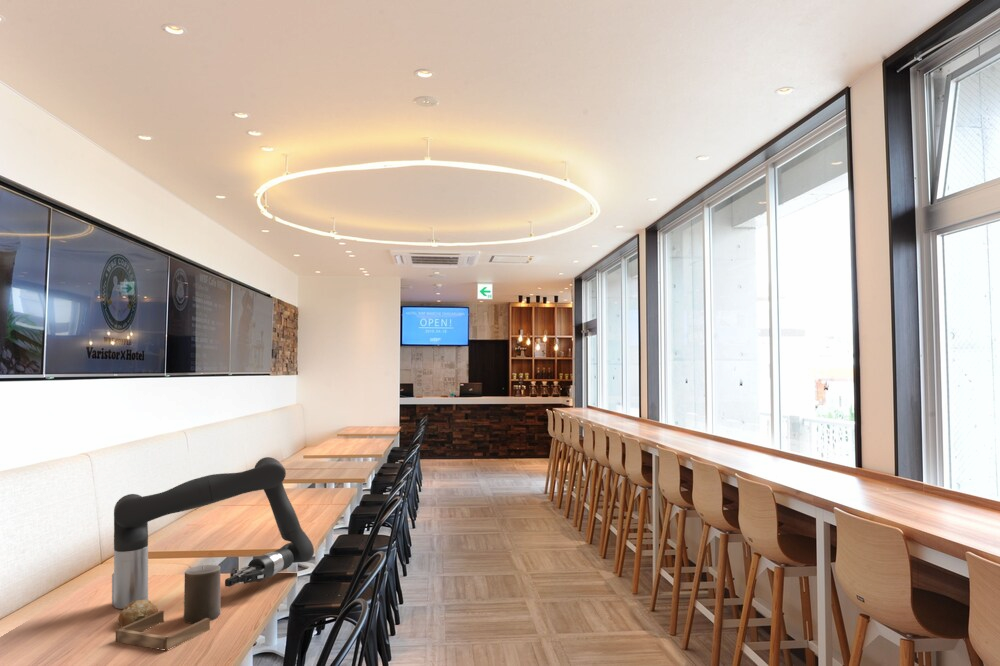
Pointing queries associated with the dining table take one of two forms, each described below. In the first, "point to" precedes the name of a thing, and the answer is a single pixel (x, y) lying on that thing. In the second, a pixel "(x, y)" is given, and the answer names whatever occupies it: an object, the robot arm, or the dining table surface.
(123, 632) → the brown wooden u-shaped frame
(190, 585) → the pillar candle
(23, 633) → the dining table surface
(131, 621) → the bread roll
